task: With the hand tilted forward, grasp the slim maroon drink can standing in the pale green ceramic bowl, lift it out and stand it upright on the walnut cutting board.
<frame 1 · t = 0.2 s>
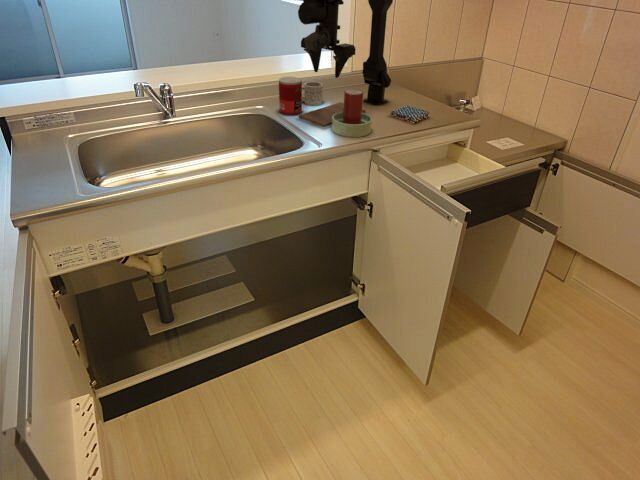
hand: (326, 74, 142), 15 cm above the counter, tool pointing down, fingers open, 9 cm apart
bowl: (351, 131, 141), on the counter
mug: (308, 102, 165), on the counter
canned food: (290, 111, 156), on the counter
drink can: (351, 129, 141), point 1 cm above the counter, touching bowl
cutting board: (332, 116, 152), on the counter
woven mat: (409, 117, 154), on the counter
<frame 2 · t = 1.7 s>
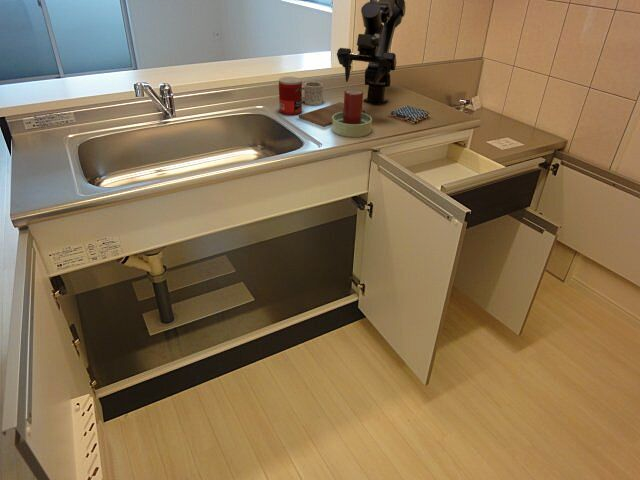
hand: (360, 82, 139), 13 cm above the counter, tool tilted 45°, fingers open, 9 cm apart
nothing on the counter moved.
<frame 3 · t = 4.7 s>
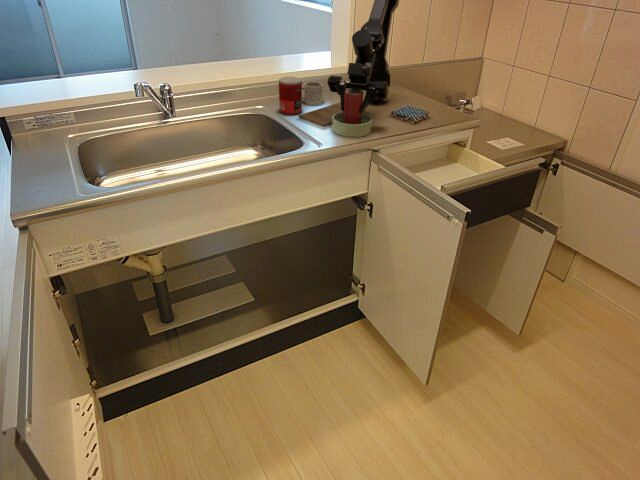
hand: (351, 111, 136), 7 cm above the counter, tool tilted 45°, fingers closed on drink can, 6 cm apart
drink can: (351, 129, 141), point 1 cm above the counter, touching bowl, gripper
everything else where it was.
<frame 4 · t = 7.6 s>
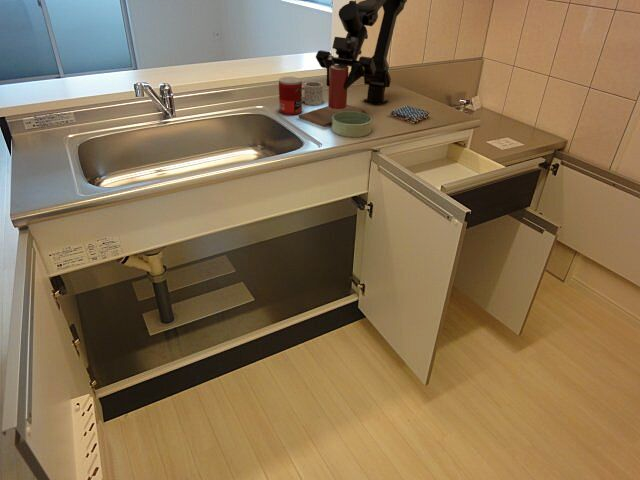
hand: (336, 87, 135), 13 cm above the counter, tool tilted 45°, fingers closed on drink can, 6 cm apart
drink can: (337, 106, 140), point 7 cm above the counter, touching gripper
everything else where it was.
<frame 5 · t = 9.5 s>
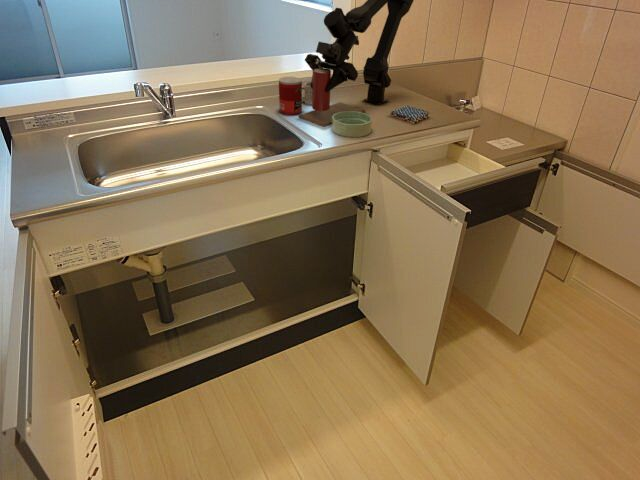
hand: (318, 89, 141), 11 cm above the counter, tool tilted 45°, fingers closed on drink can, 6 cm apart
drink can: (321, 108, 145), point 5 cm above the counter, touching gripper
everything else where it was.
when the fingers open (8 cm above the counter, at t = 10.9 s): drink can stays where it is, resting on cutting board.
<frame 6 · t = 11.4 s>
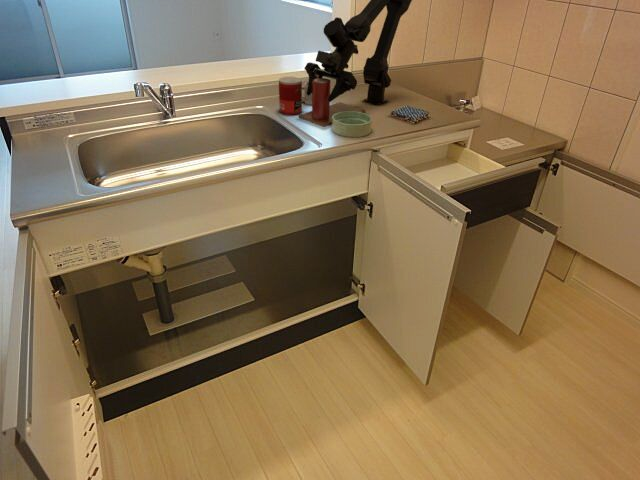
hand: (317, 97, 142), 8 cm above the counter, tool tilted 45°, fingers open, 9 cm apart
drink can: (320, 117, 147), point 1 cm above the counter, touching cutting board
everything else where it was.
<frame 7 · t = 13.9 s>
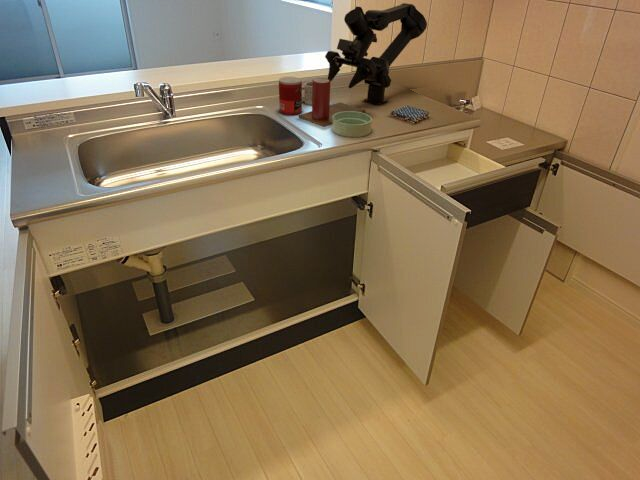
hand: (338, 84, 148), 10 cm above the counter, tool tilted 45°, fingers open, 9 cm apart
nothing on the counter moved.
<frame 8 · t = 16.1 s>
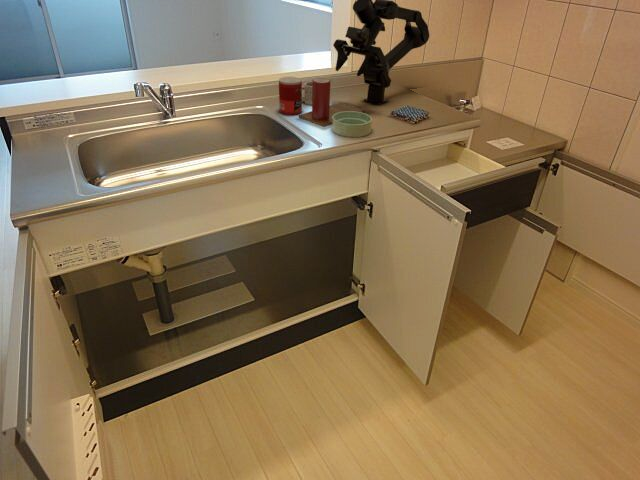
hand: (346, 72, 148), 14 cm above the counter, tool tilted 45°, fingers open, 9 cm apart
nothing on the counter moved.
at the end: drink can inside the target area on the cutting board (5.9 cm from its centre), point 1.5 cm above the cutting board's base; drink can tilted 0°; the gripper is holding nothing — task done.
